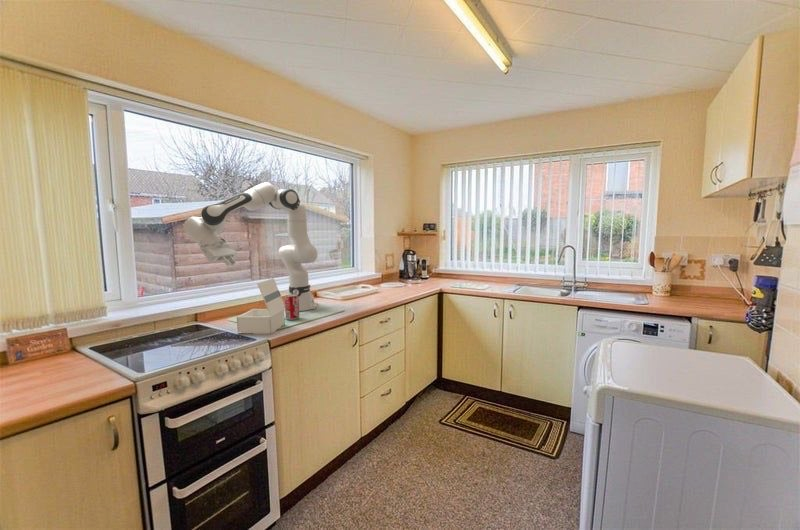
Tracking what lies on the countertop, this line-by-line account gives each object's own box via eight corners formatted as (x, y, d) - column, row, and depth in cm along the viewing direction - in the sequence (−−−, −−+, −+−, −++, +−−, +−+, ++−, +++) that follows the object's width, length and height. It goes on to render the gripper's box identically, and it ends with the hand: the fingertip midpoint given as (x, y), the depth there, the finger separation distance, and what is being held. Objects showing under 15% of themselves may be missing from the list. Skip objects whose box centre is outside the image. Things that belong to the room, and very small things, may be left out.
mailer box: (254, 324, 177) (253, 308, 176) (284, 324, 176) (283, 309, 175) (237, 333, 161) (236, 316, 160) (271, 334, 160) (270, 317, 159)
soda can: (295, 320, 183) (294, 296, 181) (283, 320, 184) (281, 296, 183) (301, 317, 190) (300, 294, 188) (289, 316, 191) (288, 293, 190)
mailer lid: (272, 278, 174) (273, 278, 174) (284, 308, 175) (285, 307, 175) (257, 283, 158) (258, 283, 158) (270, 316, 159) (272, 315, 159)
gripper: (202, 240, 159) (224, 261, 159) (227, 239, 179) (246, 258, 180) (193, 250, 160) (215, 271, 160) (219, 247, 180) (238, 266, 180)
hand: (232, 264), depth 170 cm, fingers open, 2 cm apart
